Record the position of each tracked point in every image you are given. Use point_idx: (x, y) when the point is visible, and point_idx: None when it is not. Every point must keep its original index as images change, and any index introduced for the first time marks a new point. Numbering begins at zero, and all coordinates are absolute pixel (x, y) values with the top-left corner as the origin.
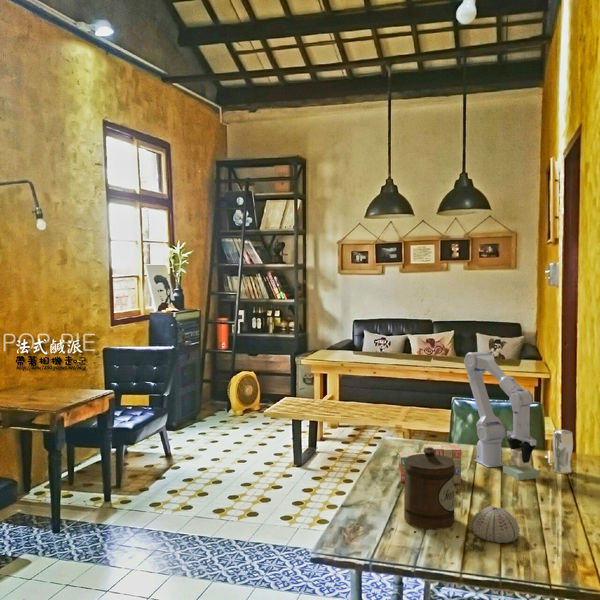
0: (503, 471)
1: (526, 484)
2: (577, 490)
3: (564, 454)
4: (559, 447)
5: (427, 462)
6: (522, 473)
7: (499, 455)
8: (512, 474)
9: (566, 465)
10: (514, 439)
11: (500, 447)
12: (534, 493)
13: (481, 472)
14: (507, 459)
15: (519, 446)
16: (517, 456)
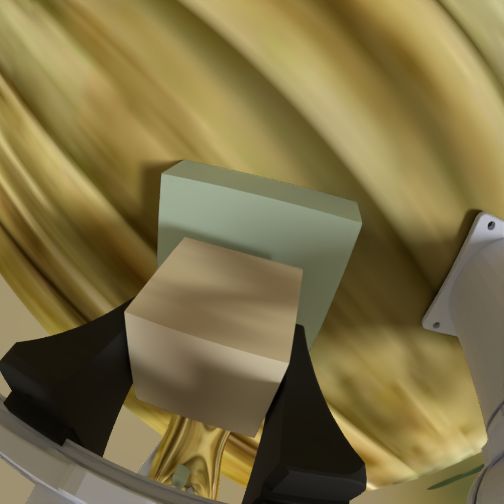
0: (351, 204)
1: (111, 145)
2: (26, 271)
3: (148, 458)
4: None
5: None
6: (161, 206)
7: (466, 341)
8: (240, 178)
9: (168, 424)
10: (258, 497)
11: (478, 396)
12: (23, 90)
13: (450, 82)
14: (454, 389)
15: (260, 442)
16: (176, 292)
